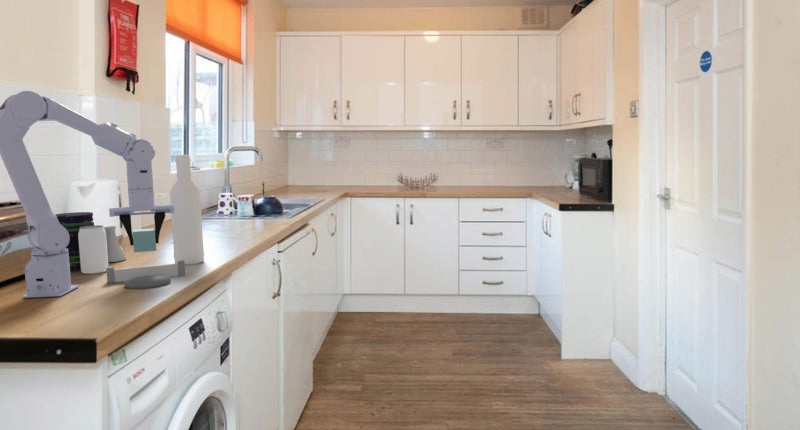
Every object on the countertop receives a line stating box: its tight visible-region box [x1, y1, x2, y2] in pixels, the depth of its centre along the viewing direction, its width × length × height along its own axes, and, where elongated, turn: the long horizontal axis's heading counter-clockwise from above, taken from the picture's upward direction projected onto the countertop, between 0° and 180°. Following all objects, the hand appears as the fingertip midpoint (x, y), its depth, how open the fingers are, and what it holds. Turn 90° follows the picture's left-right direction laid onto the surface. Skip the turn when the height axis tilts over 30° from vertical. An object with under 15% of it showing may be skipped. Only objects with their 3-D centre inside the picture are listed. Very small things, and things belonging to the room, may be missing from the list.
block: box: [132, 227, 157, 253], centre depth 149 cm, size 5×5×5 cm
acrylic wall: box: [106, 260, 186, 284], centre depth 148 cm, size 18×2×4 cm, turn 114°
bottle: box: [169, 154, 205, 266], centre depth 168 cm, size 8×8×30 cm
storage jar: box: [54, 211, 95, 273], centre depth 163 cm, size 10×10×15 cm
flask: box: [103, 225, 127, 263], centre depth 175 cm, size 7×7×10 cm
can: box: [78, 224, 109, 275], centre depth 158 cm, size 6×6×12 cm
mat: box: [123, 275, 172, 290], centre depth 142 cm, size 10×10×1 cm
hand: (144, 243), depth 149 cm, fingers closed on block, 5 cm apart
